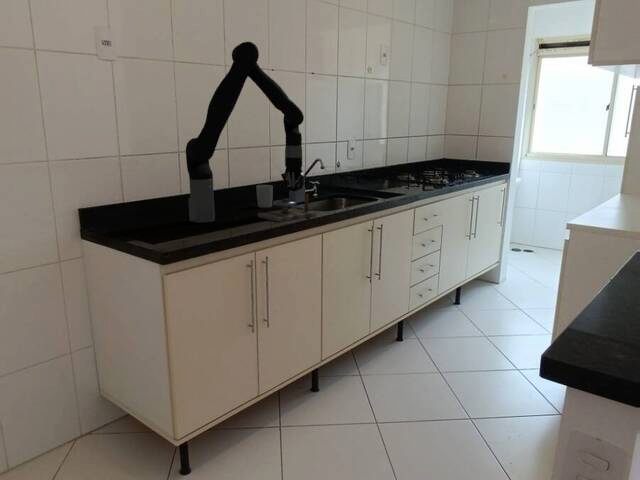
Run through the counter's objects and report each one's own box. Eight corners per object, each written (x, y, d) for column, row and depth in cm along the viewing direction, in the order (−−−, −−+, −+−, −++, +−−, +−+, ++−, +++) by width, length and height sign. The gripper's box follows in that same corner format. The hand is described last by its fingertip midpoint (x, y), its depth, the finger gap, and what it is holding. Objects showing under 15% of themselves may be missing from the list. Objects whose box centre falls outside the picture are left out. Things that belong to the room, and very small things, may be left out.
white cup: (261, 208, 232) (261, 187, 230) (253, 206, 239) (253, 185, 236) (276, 206, 237) (275, 186, 235) (268, 204, 243) (267, 184, 241)
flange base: (279, 221, 201) (279, 199, 198) (257, 216, 211) (257, 196, 209) (316, 215, 214) (316, 195, 212) (294, 211, 224) (293, 191, 222)
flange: (287, 207, 203) (286, 195, 202) (268, 205, 209) (268, 193, 207) (312, 201, 218) (312, 190, 217) (294, 199, 223) (293, 188, 222)
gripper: (276, 155, 216) (276, 195, 221) (300, 157, 209) (300, 198, 213) (287, 154, 222) (287, 193, 227) (310, 156, 215) (310, 196, 219)
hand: (293, 195), depth 220 cm, fingers closed
